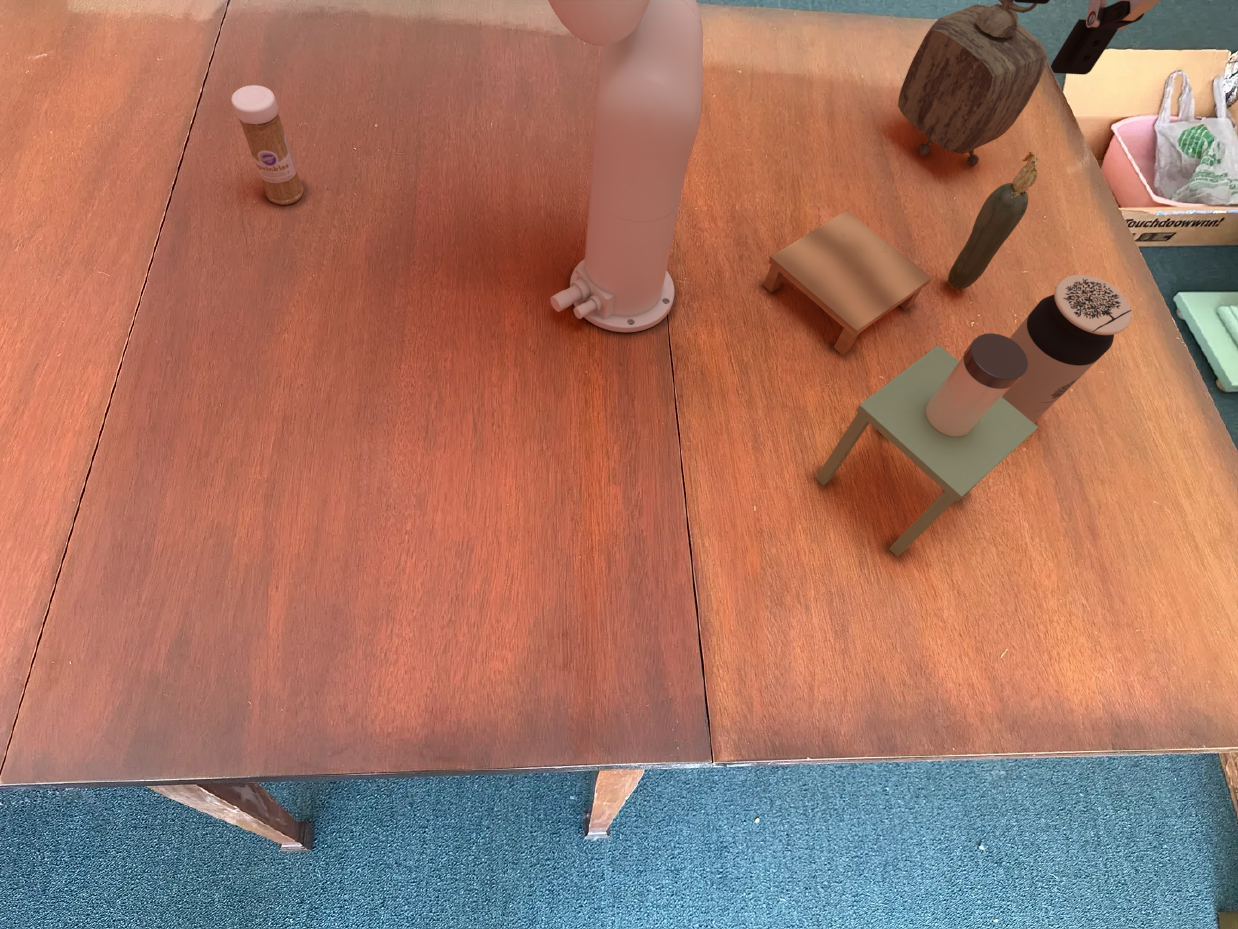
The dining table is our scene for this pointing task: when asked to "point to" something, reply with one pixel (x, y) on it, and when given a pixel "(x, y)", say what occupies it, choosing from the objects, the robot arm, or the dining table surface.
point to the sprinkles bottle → (268, 143)
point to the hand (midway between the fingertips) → (1048, 35)
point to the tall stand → (932, 437)
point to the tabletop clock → (972, 77)
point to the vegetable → (993, 226)
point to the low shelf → (848, 274)
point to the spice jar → (976, 384)
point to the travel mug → (1065, 340)
